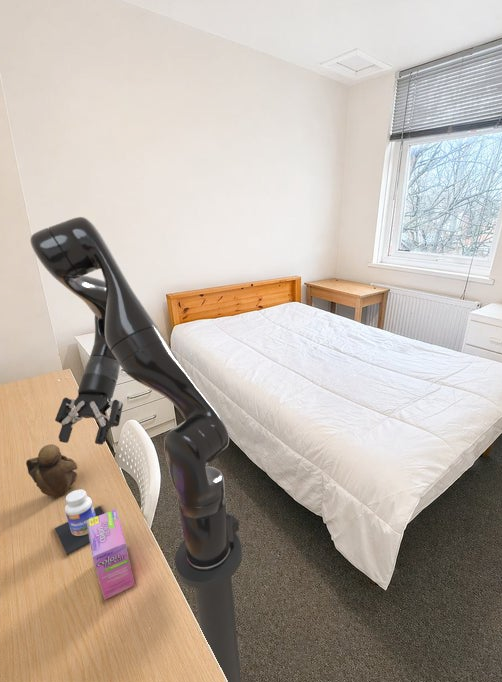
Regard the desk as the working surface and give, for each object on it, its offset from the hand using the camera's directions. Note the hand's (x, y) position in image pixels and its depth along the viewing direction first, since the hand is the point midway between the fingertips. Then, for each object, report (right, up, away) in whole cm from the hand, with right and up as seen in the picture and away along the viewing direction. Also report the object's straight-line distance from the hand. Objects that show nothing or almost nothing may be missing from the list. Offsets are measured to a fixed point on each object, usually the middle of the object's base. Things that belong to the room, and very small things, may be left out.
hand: (81, 443), depth 81 cm
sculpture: (-14, -17, +14) cm, 26 cm away
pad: (-1, -21, +3) cm, 21 cm away
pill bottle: (-1, -21, +3) cm, 21 cm away
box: (+12, -26, -8) cm, 29 cm away
